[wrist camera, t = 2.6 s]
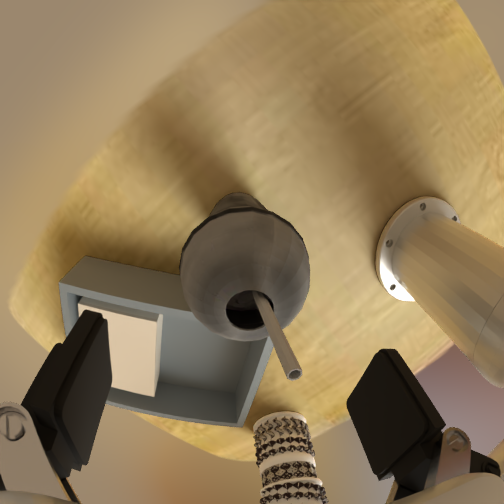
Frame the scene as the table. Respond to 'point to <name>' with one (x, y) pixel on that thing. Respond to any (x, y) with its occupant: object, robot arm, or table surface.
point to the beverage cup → (246, 274)
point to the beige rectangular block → (131, 345)
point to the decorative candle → (286, 460)
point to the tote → (173, 346)
